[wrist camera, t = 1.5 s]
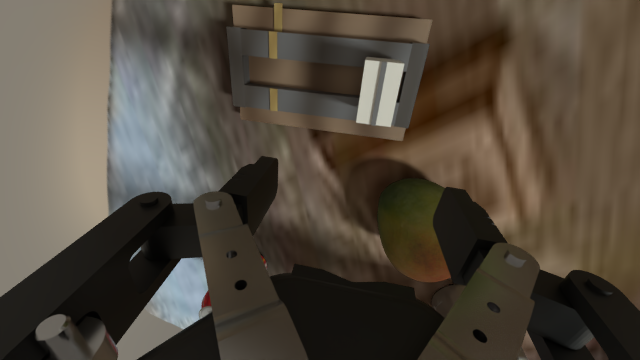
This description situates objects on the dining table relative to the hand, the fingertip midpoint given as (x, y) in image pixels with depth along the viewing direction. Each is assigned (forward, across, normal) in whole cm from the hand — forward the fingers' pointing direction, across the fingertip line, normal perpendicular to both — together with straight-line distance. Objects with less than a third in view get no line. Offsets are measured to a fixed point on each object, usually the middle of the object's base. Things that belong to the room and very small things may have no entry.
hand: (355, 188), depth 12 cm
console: (+21, +5, -2) cm, 21 cm away
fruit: (+21, -10, +13) cm, 26 cm away
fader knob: (+18, -1, -2) cm, 19 cm away
